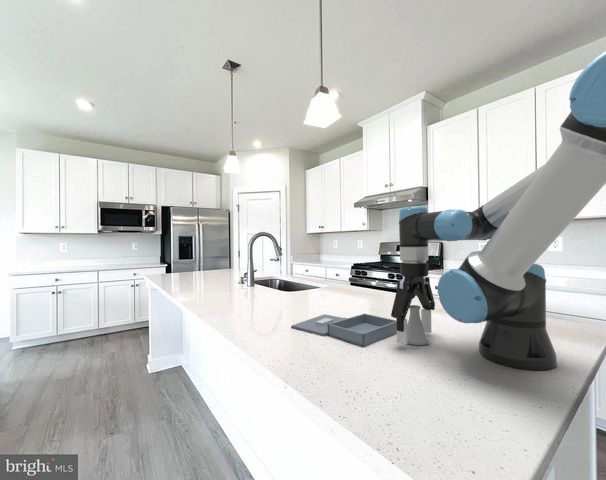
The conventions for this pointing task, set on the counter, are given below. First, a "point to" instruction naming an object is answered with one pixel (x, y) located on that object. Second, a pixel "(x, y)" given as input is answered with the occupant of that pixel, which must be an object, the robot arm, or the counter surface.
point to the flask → (416, 327)
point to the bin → (362, 329)
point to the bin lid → (317, 324)
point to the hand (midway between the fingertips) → (415, 337)
